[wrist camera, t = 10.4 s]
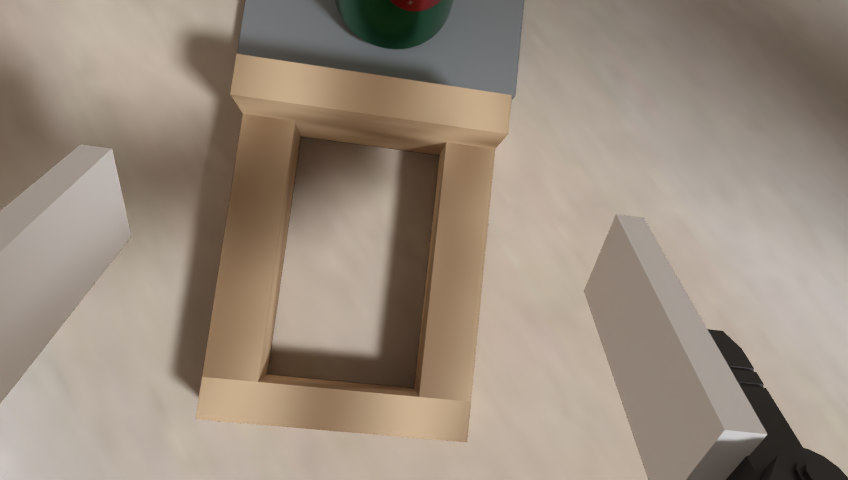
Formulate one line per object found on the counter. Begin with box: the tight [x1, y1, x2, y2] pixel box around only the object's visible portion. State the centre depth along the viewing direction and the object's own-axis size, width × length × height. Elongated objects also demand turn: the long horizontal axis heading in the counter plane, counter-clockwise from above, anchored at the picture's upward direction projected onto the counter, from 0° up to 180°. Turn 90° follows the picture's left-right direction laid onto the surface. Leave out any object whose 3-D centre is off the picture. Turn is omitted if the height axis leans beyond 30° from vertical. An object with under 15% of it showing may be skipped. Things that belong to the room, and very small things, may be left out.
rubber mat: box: [237, 0, 524, 100], centre depth 24 cm, size 12×7×1 cm, turn 84°
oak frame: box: [196, 54, 512, 442], centre depth 21 cm, size 10×13×4 cm
